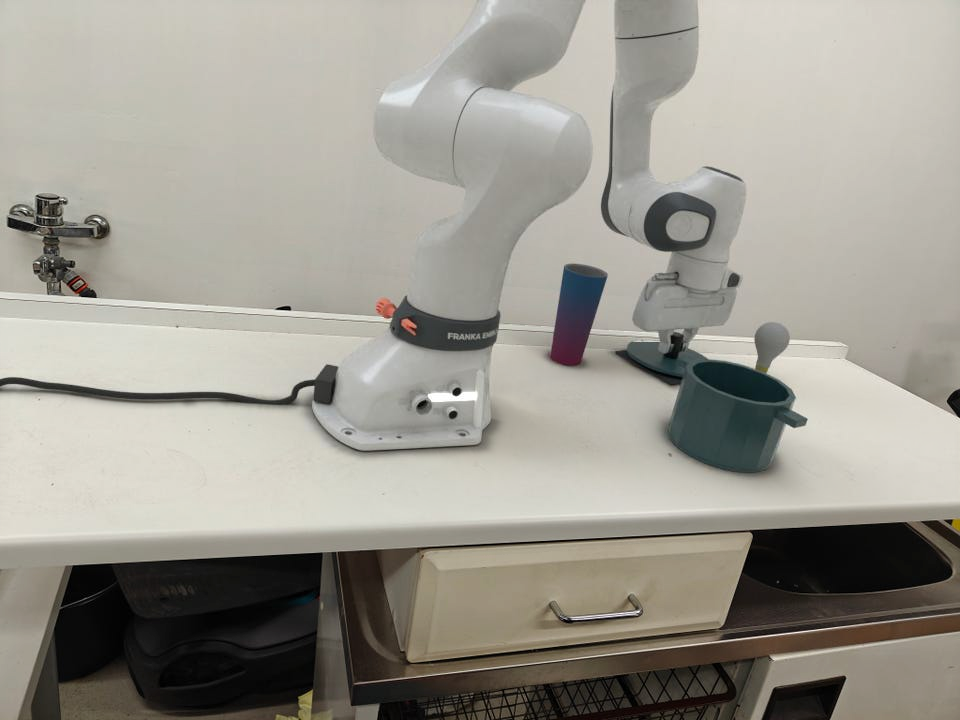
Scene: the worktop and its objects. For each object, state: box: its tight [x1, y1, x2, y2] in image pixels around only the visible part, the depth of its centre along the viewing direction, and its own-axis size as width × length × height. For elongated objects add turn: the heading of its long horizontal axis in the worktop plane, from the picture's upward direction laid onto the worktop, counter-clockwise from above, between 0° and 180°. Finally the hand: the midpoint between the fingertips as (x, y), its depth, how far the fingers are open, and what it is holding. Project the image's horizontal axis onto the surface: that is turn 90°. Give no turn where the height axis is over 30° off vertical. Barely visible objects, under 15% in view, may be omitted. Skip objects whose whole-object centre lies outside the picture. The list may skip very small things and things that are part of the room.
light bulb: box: [753, 321, 791, 374], centre depth 121 cm, size 6×6×10 cm
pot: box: [667, 356, 809, 474], centre depth 94 cm, size 14×19×10 cm
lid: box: [626, 331, 709, 377], centre depth 121 cm, size 15×15×5 cm
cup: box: [549, 263, 609, 367], centre depth 113 cm, size 7×7×15 cm
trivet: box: [614, 349, 683, 387], centre depth 121 cm, size 13×13×1 cm
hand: (672, 351), depth 121 cm, fingers closed on lid, 2 cm apart
